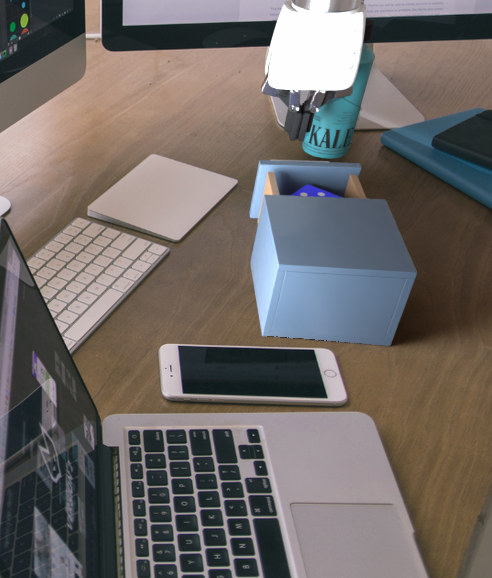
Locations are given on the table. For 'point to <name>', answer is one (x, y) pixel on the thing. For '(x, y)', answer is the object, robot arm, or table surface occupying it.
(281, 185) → the drawer
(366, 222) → the cabinet
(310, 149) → the beverage bottle
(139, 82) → the table surface
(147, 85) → the table surface
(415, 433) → the table surface
